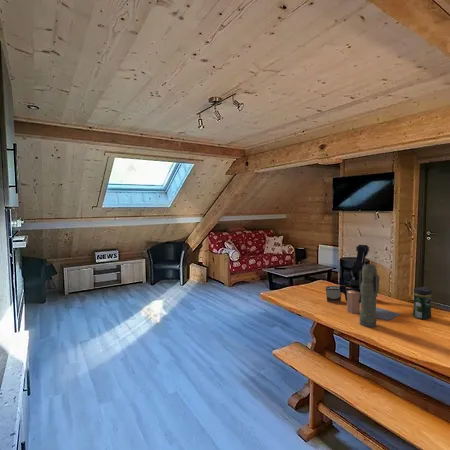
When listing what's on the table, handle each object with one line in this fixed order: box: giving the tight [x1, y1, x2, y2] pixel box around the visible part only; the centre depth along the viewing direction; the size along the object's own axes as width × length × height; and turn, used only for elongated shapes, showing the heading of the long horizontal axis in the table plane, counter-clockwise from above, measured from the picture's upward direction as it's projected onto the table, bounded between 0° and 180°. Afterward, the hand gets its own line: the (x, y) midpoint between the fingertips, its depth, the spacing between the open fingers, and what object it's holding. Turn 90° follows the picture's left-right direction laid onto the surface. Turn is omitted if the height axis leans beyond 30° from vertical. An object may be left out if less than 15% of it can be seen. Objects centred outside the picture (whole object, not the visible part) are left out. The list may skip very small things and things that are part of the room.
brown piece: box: [346, 290, 361, 314], centre depth 194 cm, size 7×7×13 cm
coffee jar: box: [412, 286, 433, 320], centre depth 184 cm, size 10×8×19 cm
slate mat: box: [376, 306, 401, 322], centre depth 190 cm, size 16×16×1 cm
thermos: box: [359, 263, 380, 328], centre depth 173 cm, size 9×12×35 cm
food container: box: [324, 285, 343, 303], centre depth 216 cm, size 12×6×10 cm, turn 84°
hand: (352, 301), depth 193 cm, fingers closed on brown piece, 8 cm apart
